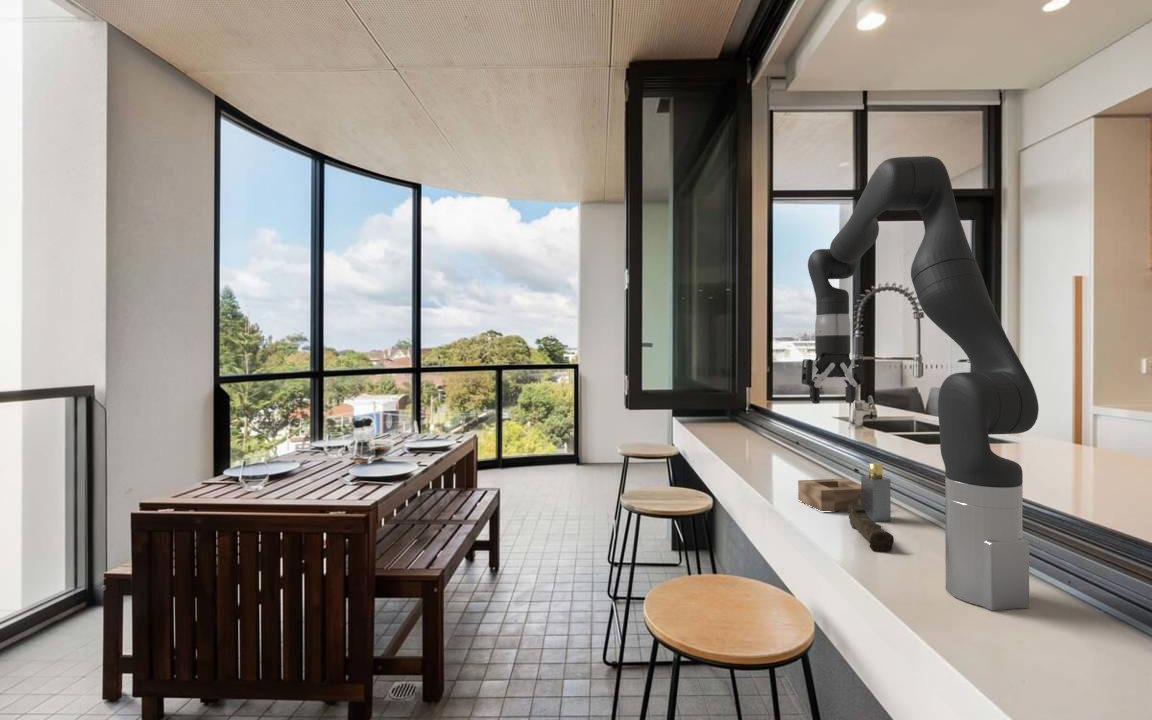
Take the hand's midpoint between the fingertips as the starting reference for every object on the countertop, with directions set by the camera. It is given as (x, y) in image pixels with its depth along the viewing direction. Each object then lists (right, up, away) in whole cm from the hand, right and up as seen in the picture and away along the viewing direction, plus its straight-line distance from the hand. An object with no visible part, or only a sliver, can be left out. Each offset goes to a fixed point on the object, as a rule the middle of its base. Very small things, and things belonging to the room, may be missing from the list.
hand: (832, 403), depth 130 cm
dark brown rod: (-4, -25, -21) cm, 33 cm away
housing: (0, -24, 0) cm, 24 cm away
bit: (+5, -24, -10) cm, 27 cm away
